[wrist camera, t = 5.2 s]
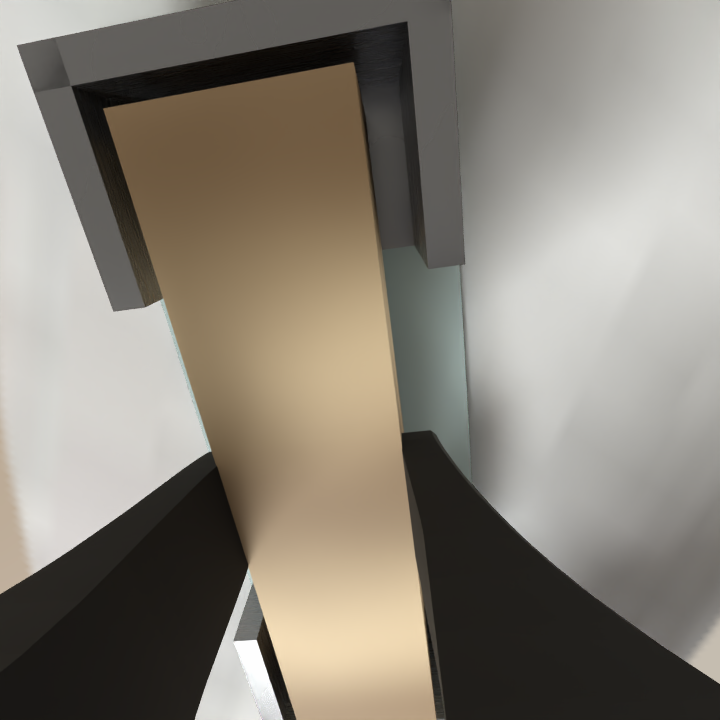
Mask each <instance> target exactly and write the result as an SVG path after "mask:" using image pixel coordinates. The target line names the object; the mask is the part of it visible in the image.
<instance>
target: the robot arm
mask: <svg viewBox="0 0 720 720" xmlns="http://www.w3.org/2000/svg"><path fill="white" fill-rule="evenodd" d="M402 455H403V463H404V470H405V478H406V486H407V494H408V502H409V510H410V518H411V526H412V534H413V542H414V550H415V558H416V563H417V568H418V573H419V578H420V584H421V589H422V594H423V599H424V604H425V610H426V615H427V620H428V625H429V630H430V635H431V640H432V646H433V651H434V656H435V661H436V666H437V671H438V677H439V683H440V690H441V696H442V702H443V709H444V718H445V720H720V684H719V683H717V682H716V681H714V680H713V679H711V678H710V677H708V676H707V675H705V674H703V673H702V672H701V671H699V670H698V669H696V668H695V667H693V666H692V665H690V664H689V663H687V662H685V661H684V660H682V659H681V658H679V657H678V656H676V655H675V654H673V653H672V652H670V651H669V650H667V649H666V648H664V647H663V646H661V645H660V644H658V643H657V642H656V641H654V640H653V639H651V638H650V637H649V636H647V635H646V634H645V633H643V632H642V631H640V630H639V629H638V628H636V627H635V626H634V625H632V624H631V623H629V622H628V621H627V620H625V619H624V618H622V617H621V616H620V615H618V614H617V613H616V612H614V611H613V610H611V609H610V608H609V607H607V606H606V605H605V604H603V603H602V602H600V601H599V600H598V599H596V598H595V597H594V596H592V595H591V594H590V593H588V592H587V591H586V590H585V589H583V588H582V587H581V586H580V585H578V584H577V583H576V582H575V581H573V580H572V579H571V578H570V577H569V576H567V575H566V574H565V573H564V572H562V571H561V570H560V569H559V568H557V567H556V566H555V565H554V564H553V563H552V562H550V561H549V560H548V559H547V558H546V557H545V556H544V555H542V554H541V553H540V552H539V551H538V550H537V549H535V548H534V547H533V546H532V545H531V544H530V543H529V542H528V541H527V540H526V539H524V538H523V537H522V536H521V535H520V534H519V533H518V532H517V531H516V530H515V529H514V528H513V527H512V526H511V525H510V524H509V523H508V522H507V521H506V520H505V519H504V518H503V517H502V516H501V515H500V514H499V513H498V512H497V511H496V510H495V509H494V508H493V507H492V506H491V505H490V504H489V503H488V501H487V500H486V499H485V498H484V497H483V496H482V495H481V494H480V493H479V492H478V490H477V489H476V488H475V487H474V486H473V484H472V483H471V482H470V481H469V480H468V479H467V477H466V476H465V475H464V474H463V473H462V471H461V470H460V469H459V468H458V466H457V465H456V464H455V462H454V461H453V460H452V458H451V457H450V456H449V454H448V453H447V451H446V450H445V449H444V447H443V445H442V444H441V442H440V441H439V439H438V437H437V435H436V434H435V433H434V432H432V431H431V430H427V431H416V432H406V433H402ZM247 570H248V562H247V559H246V556H245V553H244V550H243V547H242V543H241V540H240V537H239V534H238V531H237V528H236V524H235V521H234V518H233V515H232V512H231V508H230V505H229V502H228V499H227V496H226V493H225V489H224V486H223V483H222V480H221V477H220V474H219V470H218V467H217V466H216V464H215V460H214V457H213V454H212V452H208V453H207V454H205V455H203V456H202V457H200V458H199V459H197V460H196V461H194V462H193V463H191V464H190V465H188V466H187V467H186V468H184V469H183V470H181V471H180V472H179V473H177V474H176V475H175V476H173V477H172V478H171V479H169V480H168V481H167V482H165V483H164V484H162V485H161V486H160V487H158V488H157V489H156V490H154V491H153V492H152V493H150V494H149V495H148V496H146V497H145V498H144V499H142V500H141V501H140V502H138V503H137V504H135V505H134V506H133V507H131V508H130V509H129V510H127V511H126V512H125V513H123V514H122V515H120V516H119V517H118V518H116V519H115V520H113V521H112V522H110V523H109V524H108V525H106V526H105V527H103V528H102V529H100V530H99V531H97V532H96V533H95V534H93V535H92V536H90V537H89V538H87V539H86V540H85V541H83V542H82V543H80V544H79V545H77V546H76V547H74V548H73V549H72V550H70V551H69V552H67V553H66V554H64V555H63V556H61V557H60V558H58V559H56V560H55V561H53V562H52V563H50V564H49V565H47V566H46V567H44V568H42V569H41V570H39V571H38V572H36V573H34V574H33V575H31V576H30V577H28V578H26V579H25V580H23V581H21V582H20V583H18V584H16V585H15V586H13V587H11V588H10V589H8V590H7V591H5V592H4V593H2V594H0V720H195V716H196V713H197V710H198V707H199V704H200V701H201V698H202V695H203V692H204V689H205V686H206V683H207V680H208V677H209V675H210V672H211V669H212V666H213V664H214V661H215V658H216V655H217V653H218V650H219V647H220V645H221V642H222V639H223V636H224V634H225V631H226V628H227V626H228V623H229V620H230V617H231V615H232V612H233V609H234V607H235V604H236V601H237V598H238V595H239V593H240V590H241V587H242V584H243V581H244V579H245V576H246V573H247Z"/></svg>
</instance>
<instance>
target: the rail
mask: <svg viewBox="0 0 720 720" xmlns="http://www.w3.org/2000/svg"><path fill="white" fill-rule="evenodd" d="M103 110H104V113H105V116H106V119H107V122H108V125H109V129H110V132H111V135H112V138H113V141H114V144H115V148H116V151H117V154H118V157H119V160H120V163H121V166H122V170H123V173H124V176H125V179H126V182H127V185H128V189H129V192H130V195H131V198H132V201H133V204H134V208H135V211H136V214H137V217H138V220H139V223H140V227H141V230H142V233H143V236H144V239H145V242H146V245H147V249H148V252H149V255H150V258H151V261H152V264H153V268H154V271H155V274H156V277H157V280H158V283H159V287H160V290H161V293H162V296H163V299H164V302H165V306H166V309H167V312H168V315H169V318H170V321H171V324H172V328H173V331H174V334H175V337H176V340H177V343H178V347H179V350H180V353H181V356H182V359H183V362H184V366H185V369H186V372H187V375H188V378H189V381H190V385H191V388H192V391H193V394H194V397H195V400H196V403H197V407H198V410H199V413H200V416H201V419H202V422H203V426H204V429H205V432H206V435H207V438H208V441H209V445H210V448H211V451H212V454H213V457H214V460H215V464H216V466H217V467H218V470H219V474H220V477H221V480H222V483H223V486H224V489H225V493H226V496H227V499H228V502H229V505H230V508H231V512H232V515H233V518H234V521H235V524H236V528H237V531H238V534H239V537H240V540H241V543H242V547H243V550H244V553H245V556H246V559H247V562H248V568H249V571H250V574H251V577H252V580H253V584H254V587H255V590H256V593H257V596H258V599H259V603H260V606H261V609H262V612H263V615H264V618H265V622H266V625H267V628H268V631H269V634H270V637H271V640H272V644H273V647H274V650H275V653H276V656H277V659H278V663H279V666H280V669H281V672H282V675H283V678H284V682H285V685H286V688H287V691H288V694H289V697H290V701H291V704H292V707H293V710H294V713H295V716H296V719H297V720H436V711H435V701H434V691H433V682H432V672H431V662H430V652H429V642H428V633H427V623H426V613H425V604H424V599H423V594H422V589H421V584H420V578H419V573H418V568H417V563H416V558H415V550H414V542H413V534H412V526H411V518H410V510H409V502H408V494H407V486H406V478H405V470H404V463H403V455H402V433H404V428H403V420H402V412H401V403H400V395H399V387H398V379H397V371H396V362H395V354H394V346H393V338H392V329H391V321H390V313H389V305H388V297H387V288H386V280H385V272H384V264H383V256H382V247H381V239H380V231H379V223H378V215H377V206H376V198H375V190H374V182H373V174H372V165H371V157H370V149H369V141H368V133H367V124H366V116H365V111H364V107H363V102H362V98H361V93H360V89H359V84H358V80H357V75H356V71H355V66H354V62H351V63H346V64H341V65H335V66H330V67H324V68H319V69H314V70H308V71H303V72H297V73H292V74H287V75H281V76H276V77H271V78H265V79H260V80H254V81H249V82H244V83H238V84H233V85H228V86H222V87H217V88H211V89H206V90H201V91H195V92H190V93H184V94H179V95H174V96H168V97H163V98H158V99H152V100H147V101H141V102H136V103H131V104H125V105H120V106H115V107H109V108H104V109H103Z"/></svg>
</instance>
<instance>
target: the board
mask: <svg viewBox="0 0 720 720" xmlns="http://www.w3.org/2000/svg"><path fill="white" fill-rule="evenodd" d="M382 256H383V264H384V272H385V280H386V288H387V297H388V305H389V313H390V321H391V329H392V338H393V346H394V354H395V362H396V371H397V379H398V387H399V395H400V403H401V412H402V420H403V428H404V433H406V432H416V431H427V430H431V431H432V432H434V433H435V434H436V435H437V437H438V439H439V441H440V442H441V444H442V445H443V447H444V449H445V450H446V451H447V453H448V454H449V456H450V457H451V458H452V460H453V461H454V462H455V464H456V465H457V466H458V468H459V469H460V470H461V471H462V473H463V474H464V475H465V476H466V477H467V479H468V480H469V481H470V482H471V483H472V472H471V455H470V437H469V420H468V403H467V385H466V368H465V350H464V333H463V316H462V298H461V281H460V265H456V266H449V267H441V268H434V269H428V268H427V266H426V264H425V263H424V261H423V259H422V258H421V256H420V254H419V253H418V251H417V249H416V248H415V246H407V247H399V248H392V249H385V250H382ZM161 303H162V306H163V310H164V313H165V316H166V319H167V322H168V325H169V328H170V332H171V335H172V338H173V341H174V344H175V347H176V350H177V353H178V357H179V360H180V363H181V366H182V369H183V372H184V375H185V379H186V382H187V385H188V388H189V391H190V394H191V397H192V400H193V404H194V407H195V410H196V413H197V416H198V419H199V422H200V426H201V429H202V432H203V435H204V438H205V441H206V444H207V448H208V451H209V452H212V451H211V448H210V445H209V441H208V438H207V435H206V432H205V429H204V426H203V422H202V419H201V416H200V413H199V410H198V407H197V403H196V400H195V397H194V394H193V391H192V388H191V385H190V381H189V378H188V375H187V372H186V369H185V366H184V362H183V359H182V356H181V353H180V350H179V347H178V343H177V340H176V337H175V334H174V331H173V328H172V324H171V321H170V318H169V315H168V312H167V309H166V306H165V302H164V299H161ZM247 573H248V576H249V579H250V582H251V585H252V584H253V580H252V577H251V574H250V571H249V568H248V570H247Z"/></svg>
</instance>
